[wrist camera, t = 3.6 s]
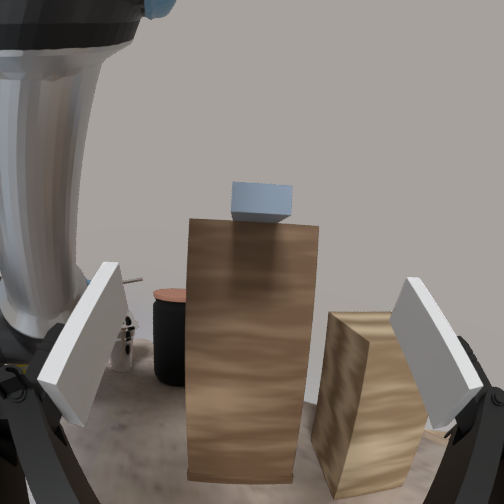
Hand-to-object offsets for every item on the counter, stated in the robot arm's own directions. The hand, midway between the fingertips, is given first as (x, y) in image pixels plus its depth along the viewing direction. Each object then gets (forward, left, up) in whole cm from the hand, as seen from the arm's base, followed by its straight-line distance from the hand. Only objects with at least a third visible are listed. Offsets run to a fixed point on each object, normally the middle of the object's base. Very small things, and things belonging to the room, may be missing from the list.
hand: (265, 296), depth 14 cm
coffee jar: (-37, +31, -26) cm, 55 cm away
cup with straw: (-48, +24, -26) cm, 59 cm away
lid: (-10, +14, +4) cm, 18 cm away
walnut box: (-13, +18, -26) cm, 34 cm away
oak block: (+2, +23, -26) cm, 35 cm away
